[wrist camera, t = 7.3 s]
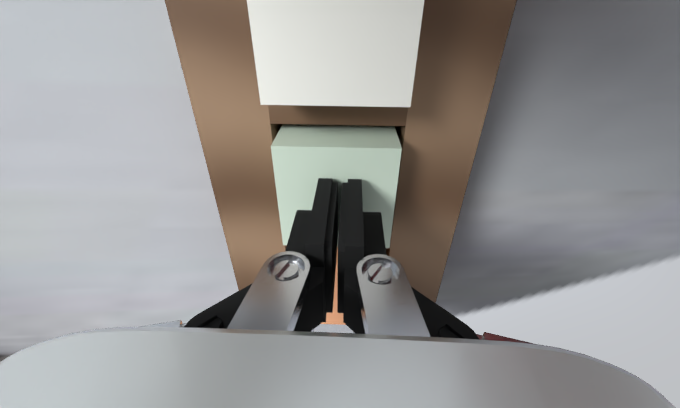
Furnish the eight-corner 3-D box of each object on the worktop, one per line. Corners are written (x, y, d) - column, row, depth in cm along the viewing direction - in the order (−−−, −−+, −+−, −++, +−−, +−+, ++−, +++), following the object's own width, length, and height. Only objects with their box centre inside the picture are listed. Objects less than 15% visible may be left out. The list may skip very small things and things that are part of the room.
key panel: (182, -103, 11) (130, -132, 8) (504, -103, 10) (552, -134, 8) (258, 280, 21) (246, 318, 19) (420, 285, 21) (429, 324, 19)
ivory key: (264, -75, 10) (233, -100, 7) (415, -75, 9) (437, -100, 7) (279, 82, 12) (260, 104, 10) (398, 84, 12) (410, 107, 10)
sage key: (285, 118, 13) (270, 146, 11) (392, 120, 13) (401, 148, 11) (293, 206, 16) (283, 245, 14) (383, 208, 16) (389, 248, 13)
